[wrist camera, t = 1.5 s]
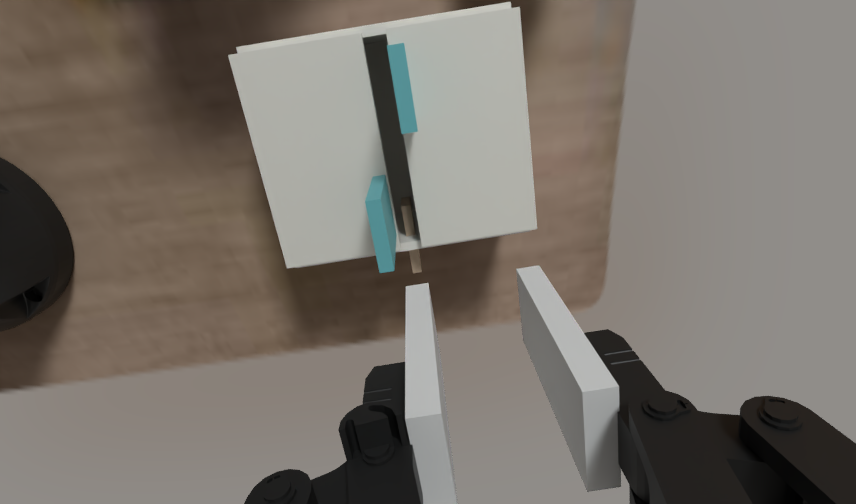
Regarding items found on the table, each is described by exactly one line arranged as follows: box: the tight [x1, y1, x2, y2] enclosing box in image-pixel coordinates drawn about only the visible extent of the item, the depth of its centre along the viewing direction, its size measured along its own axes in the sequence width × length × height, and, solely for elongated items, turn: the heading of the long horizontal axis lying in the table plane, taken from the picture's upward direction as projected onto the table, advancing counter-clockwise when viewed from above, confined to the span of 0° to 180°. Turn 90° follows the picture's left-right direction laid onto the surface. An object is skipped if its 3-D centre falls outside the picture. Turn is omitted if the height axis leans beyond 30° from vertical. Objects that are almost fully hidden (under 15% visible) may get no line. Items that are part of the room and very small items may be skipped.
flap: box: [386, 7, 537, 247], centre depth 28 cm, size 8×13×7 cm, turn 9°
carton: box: [236, 2, 530, 273], centre depth 35 cm, size 16×16×8 cm
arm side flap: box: [228, 33, 401, 273], centre depth 28 cm, size 8×13×7 cm, turn 9°
